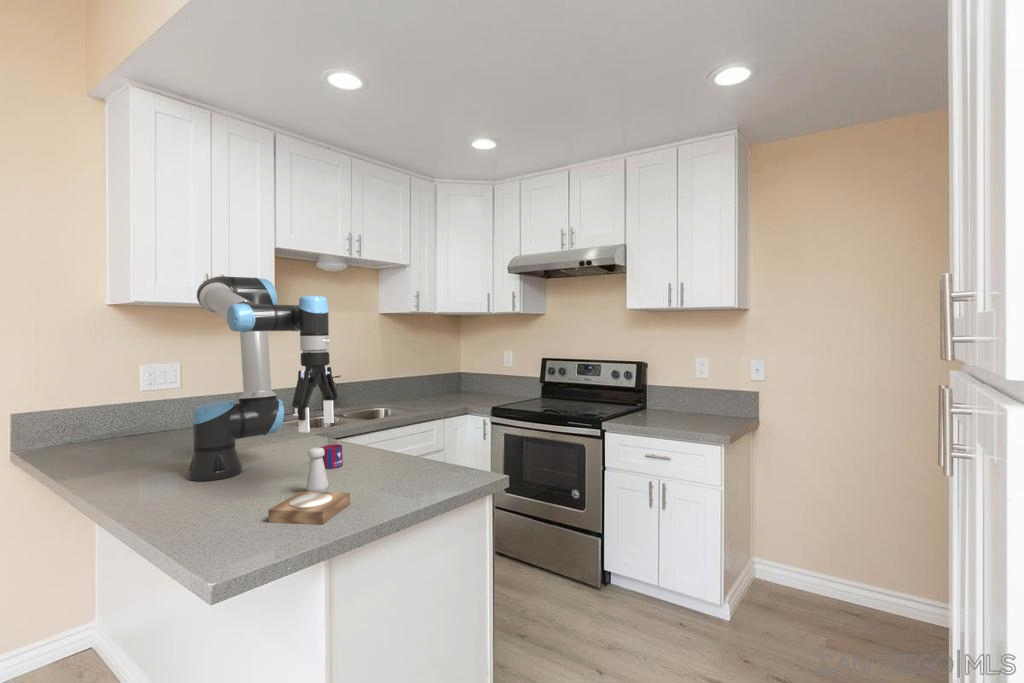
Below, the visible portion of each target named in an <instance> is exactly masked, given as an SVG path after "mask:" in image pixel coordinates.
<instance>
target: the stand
mask: <svg viewBox="0 0 1024 683" xmlns="http://www.w3.org/2000/svg"><path fill="white" fill-rule="evenodd" d="M350 505H351V493H350V492H336V491H335V492H330V491H326V492H308V491H298V492H297V493H295V494H294V495H292V496H290V497H288V498H287V499H285V500H283V501H282V502H280V503H278V504H276V505H274V506H273V507H271V508H269V509H268V510H267V513H268V515H267V516H268V518H267V519H268V523H277V524H300V525H301V524H305V525H306V524H307V525H309V524H310V525H325V523H327V522H328V521H330V520H331V519H333V518H334V517H335V516H337V515H338V514H339V513H340V512H342V511H344V509H346V508H347V507H348V506H350Z"/></svg>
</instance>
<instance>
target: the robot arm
mask: <svg viewBox="0 0 1024 683" xmlns="http://www.w3.org/2000/svg"><path fill="white" fill-rule="evenodd" d="M196 298H197V301H198V304H199V305H200V306H201V307H202V308H203V309H204V310H206V311H209V312H212V313H217V314H220V315H221V316H223V317H224V318H226V322H227V323H226V324H227V325H228V328H229V329H230V330H231V331H232V332H239V336H240V337H239V338H240V340H239V341H240V356H241V371H242V372H241V373H242V387H243V388H242V390H243V392H242V394H241V395H239V397H238V403H235V401H234V400H232V399H223V400H217V401H212V402H207V403H203V404H201V405H199V406H197V407H195V408H194V410H193V411H192V421H191V423H192V426H193V427H192V432H193V437H192V438H193V454H192V458H191V462H190V465H189V469H188V470H187V474H188V476H187V478H188V480H190V481H194V482H208V481H215V480H216V481H217V480H223V479H227V478H232V477H235V476H237V475H239V474H241V473H242V472H243V464H242V461H241V460H240V456H239V454H238V451H237V448H236V440H239V439H240V440H241V439H245V438H252V437H257V436H259V437H260V436H266V435H270V434H275V433H276V432H278V431H280V430H281V427H282V426H283V422H284V418H285V406H284V402H283V401H282V400H281V399H279V398H277V397H278V396H277V393H275V392H274V391H273V390H272V380H271V363H270V348H269V345H270V344H269V332H299V340H300V341H299V343H300V348H299V349H300V350H299V351H301V353H300V365H301V366H302V367H305V369H304V370H298V374H297V375H298V376H297V383H296V386H295V390H294V395H293V400H292V403H291V404H292V405H291V406H292V407H293V409H297V419H298V420H297V422H298V433H310V432H311V431H310V430H311V429H310V407H308V404H309V403H310V398H311V397H312V394H313V391H314V389H315V388H316V387H317V386H318V388H319V390H320V392H321V394H322V396H323V398H324V400H322V401H323V423H324V424H334V423H335V419H334V418H335V416H334V415H335V414H334V401H336V400H338V398H337V397H338V392H337V388H336V386H335V385H336V384H335V381H334V378H333V375H332V373H333V372H332V367H331V366H328V365H330V362H331V360H330V352H328V350H329V349H330V342H331V340H330V337H329V333H330V332H329V330H330V328H329V311H330V310H329V305H328V304H329V303H328V299H327V297H325V296H320V295H303V296H300V297H299V299H298V304H278V303H279V302H278V295H277V290H276V288H275V286H274V284H273V283H272V282H271V281H270V280H269V279H266V278H259V277H244V276H227V275H226V276H225V275H221V276H214V277H211V278H209V279H207V280H204V281H203V282H202V283H201V284H200V285H199V286H198V288H197V292H196Z"/></svg>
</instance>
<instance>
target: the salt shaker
mask: <svg viewBox="0 0 1024 683" xmlns="http://www.w3.org/2000/svg"><path fill="white" fill-rule="evenodd" d="M324 454H325V451H324V449H323V448H318V447H312V448H309V450H308V453H307V455H308V457H309V459H310V461H309V462H310V463H309V467H308V473H307V474H308V475H307V480H306V486H305V489H306V490H307V491H306V492H328V487H329V480H328V476H327V472H326V470H327V469H325V466H324V462H323V457H322V456H324Z"/></svg>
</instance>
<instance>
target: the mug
mask: <svg viewBox="0 0 1024 683" xmlns="http://www.w3.org/2000/svg"><path fill="white" fill-rule="evenodd" d="M317 448H323V449H324V451H325V454H324V456H322V457H323V462H324V466H325V470H334V469H339V468H341V467H343V464H344V462H343V460H344V459H343V445H342V444H336V443H335V444H334V443H333V444H327V445H326V444H325V445H323V446H319V447H318V446H317Z"/></svg>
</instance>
